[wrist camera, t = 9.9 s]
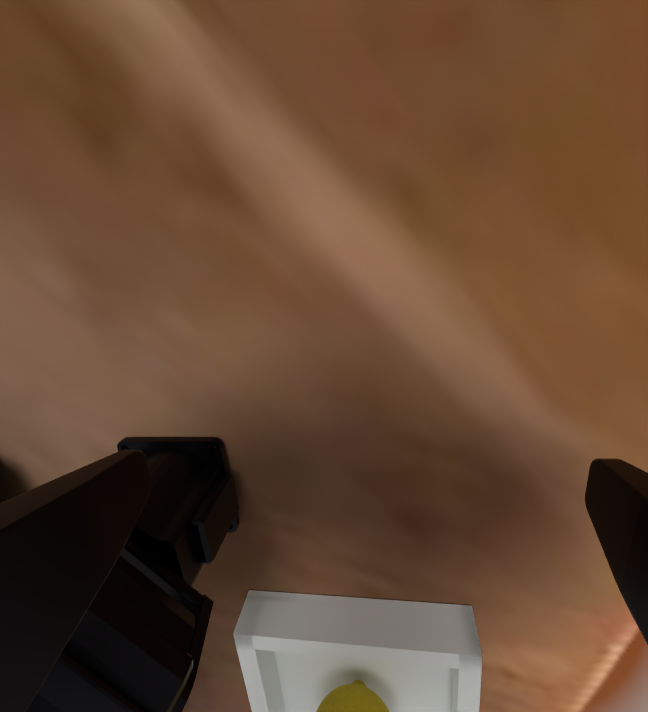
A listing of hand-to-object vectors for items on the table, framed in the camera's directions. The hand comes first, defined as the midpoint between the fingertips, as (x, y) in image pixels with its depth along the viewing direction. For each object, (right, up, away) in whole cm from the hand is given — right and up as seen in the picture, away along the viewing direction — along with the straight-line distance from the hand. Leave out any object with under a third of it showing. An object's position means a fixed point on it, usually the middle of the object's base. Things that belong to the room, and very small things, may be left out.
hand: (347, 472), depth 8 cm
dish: (+2, -20, +20) cm, 29 cm away
